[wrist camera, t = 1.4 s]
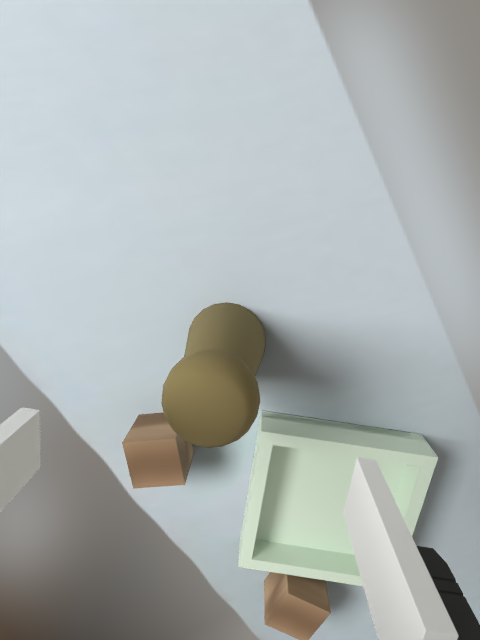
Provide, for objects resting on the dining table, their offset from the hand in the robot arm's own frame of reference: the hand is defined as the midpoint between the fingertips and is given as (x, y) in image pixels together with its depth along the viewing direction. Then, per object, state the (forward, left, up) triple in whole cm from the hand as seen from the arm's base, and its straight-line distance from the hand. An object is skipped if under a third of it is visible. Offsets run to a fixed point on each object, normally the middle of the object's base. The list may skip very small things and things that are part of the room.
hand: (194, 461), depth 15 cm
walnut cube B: (+22, +9, -14) cm, 27 cm away
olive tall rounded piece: (0, 0, -14) cm, 14 cm away
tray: (+12, +10, -14) cm, 21 cm away
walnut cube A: (+9, -4, -14) cm, 17 cm away
